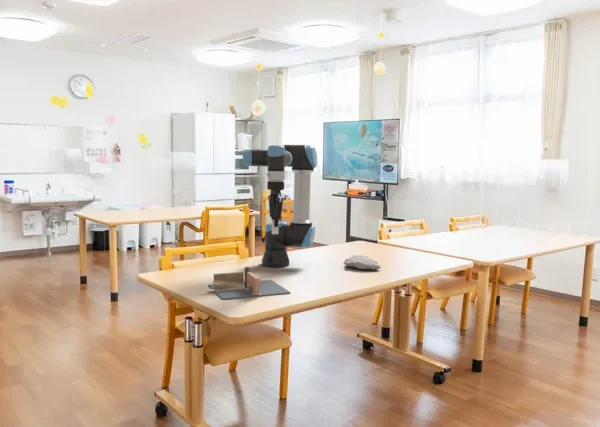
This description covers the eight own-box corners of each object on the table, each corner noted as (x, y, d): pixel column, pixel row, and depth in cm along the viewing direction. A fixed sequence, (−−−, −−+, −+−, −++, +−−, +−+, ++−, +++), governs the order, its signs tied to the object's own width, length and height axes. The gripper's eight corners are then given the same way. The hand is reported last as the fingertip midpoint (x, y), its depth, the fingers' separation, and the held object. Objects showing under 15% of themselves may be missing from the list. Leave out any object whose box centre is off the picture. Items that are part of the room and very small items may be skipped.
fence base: (213, 289, 227) (213, 269, 226) (249, 286, 233) (249, 266, 232) (214, 290, 225) (214, 270, 224) (250, 287, 231) (250, 267, 230)
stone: (382, 270, 273) (365, 260, 302) (382, 260, 272) (365, 250, 301) (350, 273, 270) (336, 262, 299) (349, 263, 269) (336, 252, 298)
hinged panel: (250, 287, 230) (250, 271, 230) (259, 294, 218) (259, 278, 218) (246, 287, 230) (246, 272, 229) (255, 295, 218) (255, 278, 217)
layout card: (204, 286, 234) (204, 278, 234) (271, 280, 247) (271, 273, 247) (217, 300, 212) (217, 291, 212) (290, 293, 225) (290, 285, 225)
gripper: (262, 180, 234) (262, 232, 237) (273, 181, 222) (272, 236, 225) (278, 180, 237) (277, 231, 240) (289, 181, 225) (288, 235, 228)
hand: (275, 233), depth 232 cm, fingers closed
